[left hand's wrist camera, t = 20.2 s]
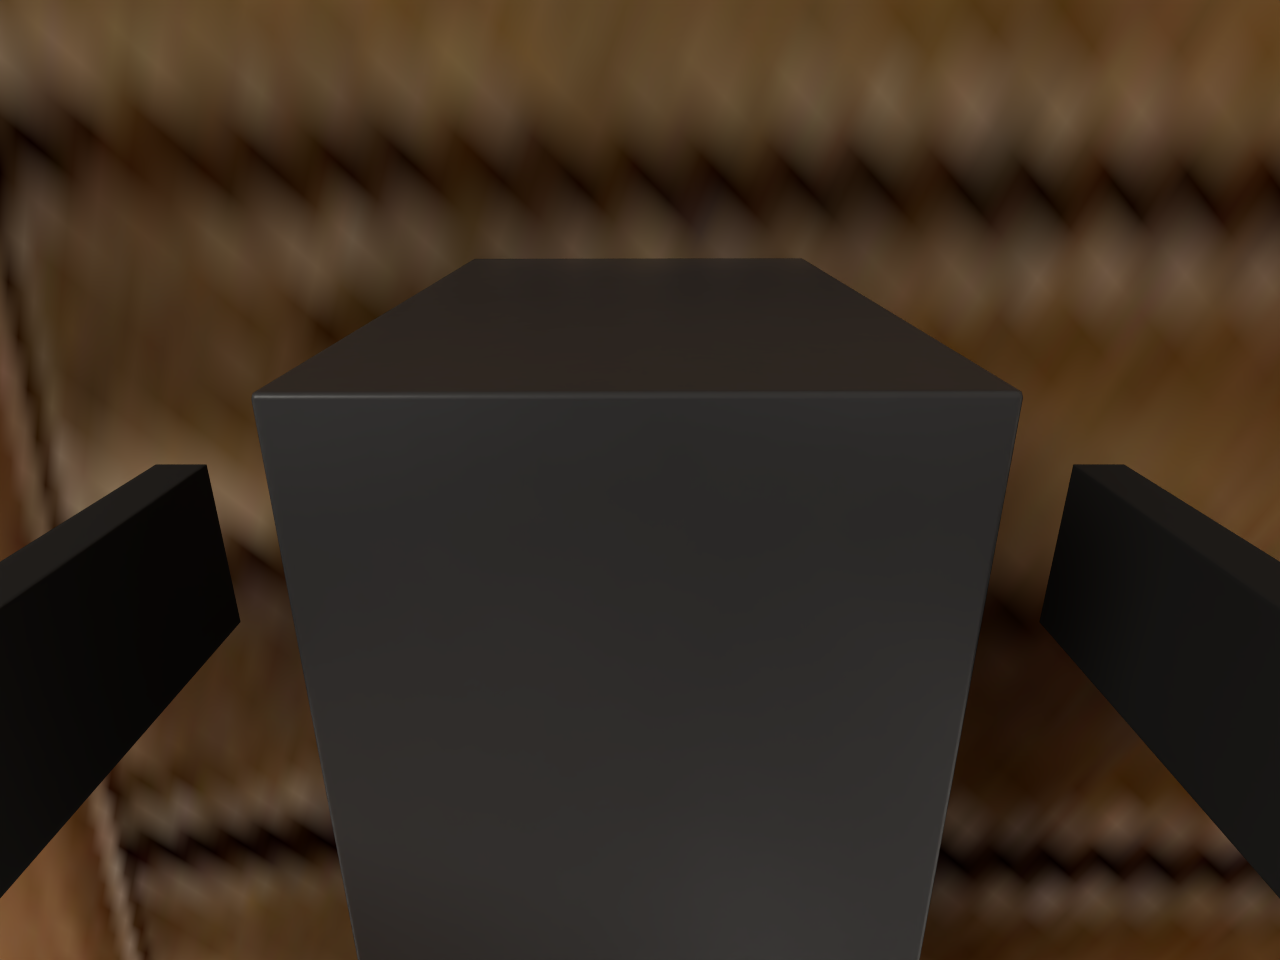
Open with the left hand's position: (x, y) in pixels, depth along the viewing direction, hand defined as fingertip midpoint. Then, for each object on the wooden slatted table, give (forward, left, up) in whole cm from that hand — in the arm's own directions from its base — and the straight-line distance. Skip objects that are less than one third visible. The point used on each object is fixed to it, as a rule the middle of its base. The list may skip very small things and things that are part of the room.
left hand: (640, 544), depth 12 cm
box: (0, +7, -4) cm, 8 cm away
